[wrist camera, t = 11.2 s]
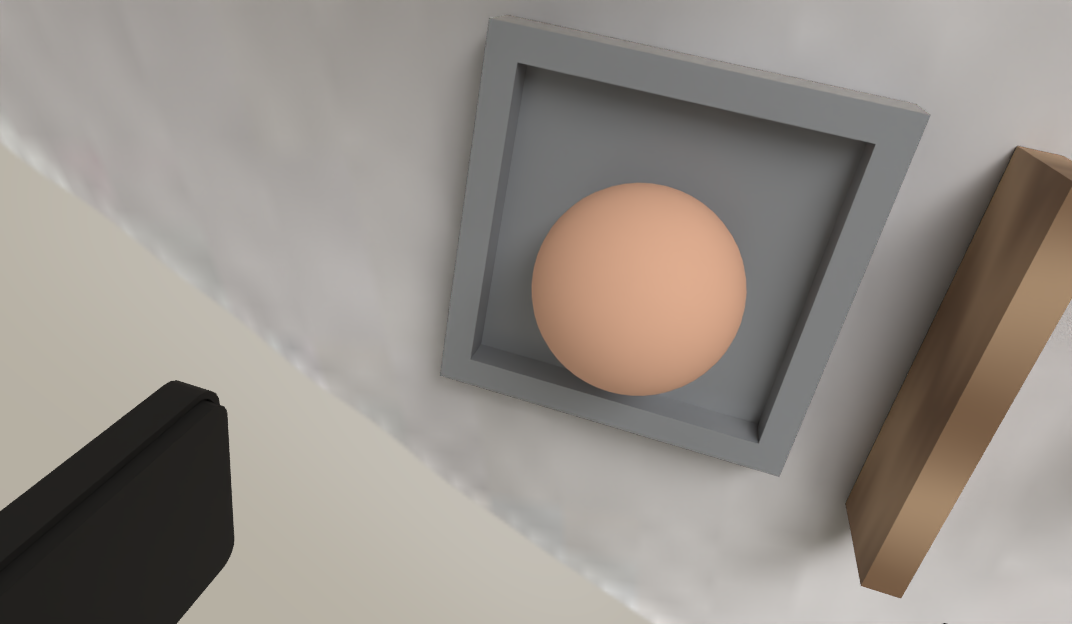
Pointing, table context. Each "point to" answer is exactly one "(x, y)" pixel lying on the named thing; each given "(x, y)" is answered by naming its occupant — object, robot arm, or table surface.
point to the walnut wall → (966, 370)
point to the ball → (639, 289)
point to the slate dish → (698, 170)
